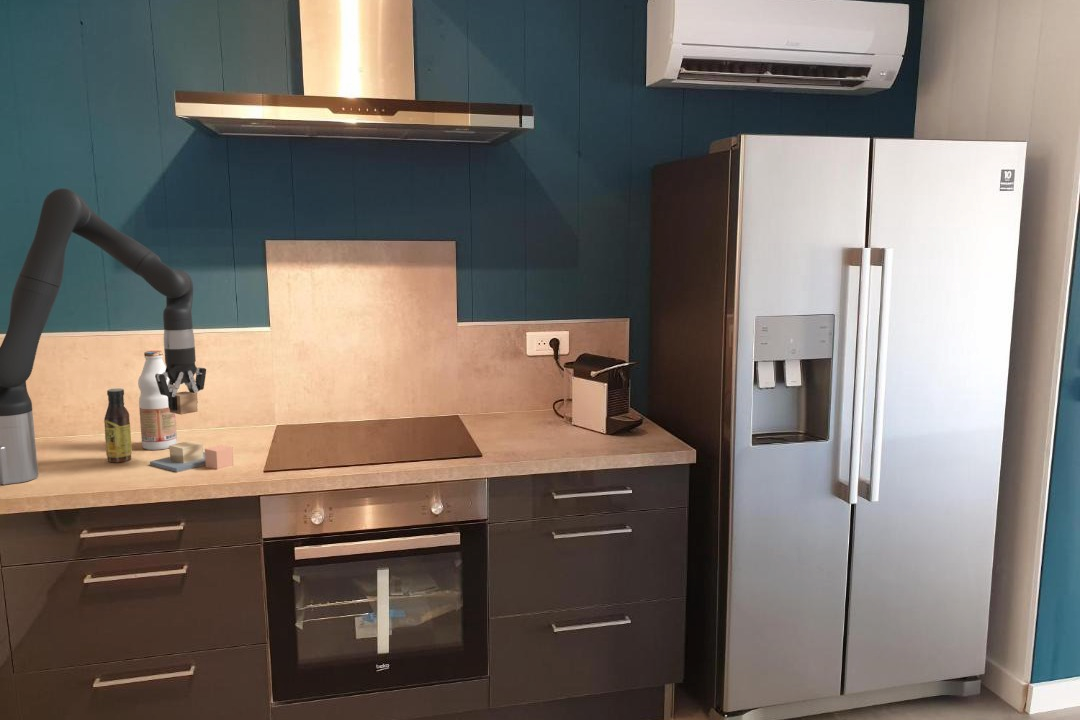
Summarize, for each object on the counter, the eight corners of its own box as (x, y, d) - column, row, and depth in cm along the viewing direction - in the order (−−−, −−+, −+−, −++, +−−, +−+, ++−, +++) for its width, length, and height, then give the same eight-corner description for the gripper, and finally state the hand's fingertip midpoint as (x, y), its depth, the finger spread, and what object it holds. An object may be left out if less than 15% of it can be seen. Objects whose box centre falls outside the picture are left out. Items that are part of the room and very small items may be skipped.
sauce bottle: (103, 460, 228) (98, 389, 225) (127, 456, 233) (122, 386, 230) (111, 465, 224) (106, 392, 221) (136, 460, 228) (130, 389, 225)
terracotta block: (217, 469, 220) (216, 451, 219) (205, 466, 223) (204, 448, 222) (233, 465, 224) (232, 447, 223) (221, 462, 227) (220, 444, 226)
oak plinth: (183, 463, 222) (182, 448, 221) (170, 459, 225) (169, 445, 225) (203, 458, 227) (202, 443, 226) (190, 454, 230) (189, 440, 230)
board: (176, 472, 217) (176, 468, 217) (150, 465, 224) (149, 461, 224) (223, 460, 229) (223, 456, 229) (196, 453, 235) (196, 450, 235)
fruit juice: (140, 451, 237) (133, 354, 233) (143, 443, 246) (137, 350, 242) (176, 448, 240) (170, 353, 236) (178, 441, 249) (172, 348, 245)
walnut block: (180, 414, 221) (180, 396, 220) (169, 412, 223) (168, 393, 223) (197, 411, 225) (196, 393, 224) (186, 409, 227) (185, 391, 227)
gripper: (162, 350, 213) (167, 415, 216) (211, 344, 225) (215, 405, 228) (145, 347, 217) (150, 411, 220) (194, 341, 229) (198, 402, 232)
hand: (183, 408), depth 224 cm, fingers closed on walnut block, 5 cm apart
